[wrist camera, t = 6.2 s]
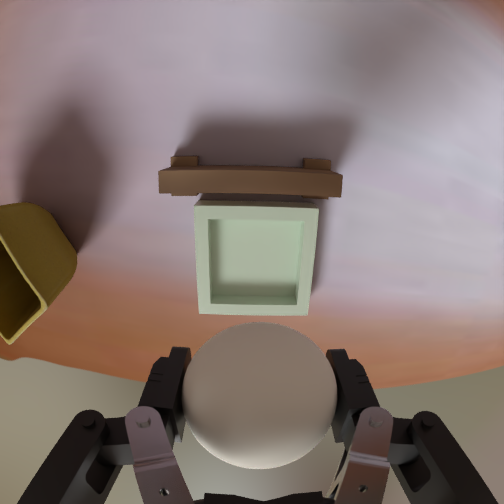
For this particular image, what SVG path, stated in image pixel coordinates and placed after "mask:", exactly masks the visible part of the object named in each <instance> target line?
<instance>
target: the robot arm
mask: <svg viewBox="0 0 504 504" xmlns="http://www.w3.org/2000/svg"><path fill="white" fill-rule="evenodd" d="M326 358H327V359H328V361H329V363H330V365H331V367H332V370H333V372H334V375H335V379H336V384H337V406H336V411H335V415H334V418H333V421H332V423H331V426H332V430H333V434H334V438H335V442H336V443H339V442H344V446H345V449H344V451H343V454H342V456H341V459H340V462H339V465H338V468H337V471H336V474H335V476H334V479H333V482H332V484H331V487H330V489H329V491H328V493H327V495H326V497H325V498H324V497H323V496H322V491H319V492H309V493H298V494H291V495H288V496H284V497H280V498H277V499H272V500H268V501H259V500H254V499H249V498H245V497H241V496H236V495H227V494H211V493H205V494H204V499H200V500H196V501H193V499H192V497H191V494H190V492H189V490H188V488H187V486H186V483H185V481H184V478H183V476H182V473H181V471H180V468H179V466H178V464H177V461H176V458H175V456H174V454H173V451H172V450H173V445H174V442H182V437H183V431H184V427H185V422H186V419H185V416H184V412H183V408H182V396H181V395H182V385H183V379H184V376H185V373H186V370H187V367H188V365H189V364H190V362H191V360H192V359H191V351H190V348H186V347H172V349H171V352H170V355H169V358H168V357H160V358H159V359H158V360H157V361H156V362H155V363H154V364H153V367H152V369H151V372H150V375H149V377H148V381H147V382H146V385H145V388H144V391H143V393H142V396H141V399H140V402H139V405H138V407H136V408H134V409H132V410H131V411H129V413H128V414H127V415H126V416H124V417H119V418H107V419H106V418H104V417H103V415H102V414H101V413H99V412H98V411H95V410H85V411H82V412H80V413H78V414H77V415H76V416H75V417H74V419H73V420H72V422H71V423H70V425H69V426H68V427H67V429H66V430H65V432H64V433H63V435H62V436H61V437H60V439H59V440H58V442H57V443H56V445H55V446H54V448H53V449H52V450H51V452H50V453H49V455H48V456H47V458H46V459H45V461H44V463H43V464H42V465H41V467H40V468H39V470H38V472H37V473H36V474H35V476H34V478H33V479H32V481H31V482H30V484H29V485H28V487H27V489H26V490H25V492H24V493H23V495H22V496H21V498H20V500H19V501H18V503H17V504H104V503H105V501H106V499H107V497H108V495H109V492H110V490H111V488H112V486H113V484H114V483H115V481H116V479H117V477H118V474H119V473H120V470H121V469H122V467H123V465H130V464H133V468H134V472H135V476H136V479H137V483H138V486H139V489H140V493H141V496H142V499H143V502H144V504H382V500H383V496H384V492H385V488H386V483H387V479H388V474H389V469H390V465H391V467H392V469H393V471H394V473H395V475H396V477H397V478H398V480H399V482H400V484H401V486H402V488H403V490H404V492H405V494H406V496H407V498H408V499H409V501H410V503H411V504H498V502H497V501H496V499H495V498H494V496H493V494H492V493H491V491H490V490H489V488H488V487H487V485H486V484H485V482H484V481H483V479H482V478H481V476H480V475H479V473H478V472H477V470H476V469H475V467H474V466H473V465H472V463H471V461H470V460H469V458H468V457H467V456H466V454H465V453H464V451H463V450H462V449H461V447H460V446H459V444H458V443H457V441H456V440H455V438H454V437H453V436H452V435H451V433H450V431H449V430H448V429H447V427H446V426H445V425H444V423H443V422H442V421H441V419H440V418H439V417H438V416H437V415H436V414H434V413H432V412H429V411H422V412H419V413H417V414H416V415H415V416H414V417H413V419H403V418H395V417H392V415H391V414H390V413H389V411H387V410H386V409H384V408H381V407H380V405H379V403H378V400H377V398H376V395H375V393H374V391H373V388H372V386H371V384H370V383H369V379H368V377H367V376H366V375H367V374H366V372H365V370H364V367H363V366H362V365H361V364H360V363H359V362H358V361H357V360H356V359H350V360H349V358H348V355H347V353H346V350H345V349H330V350H327V353H326Z"/></svg>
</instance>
